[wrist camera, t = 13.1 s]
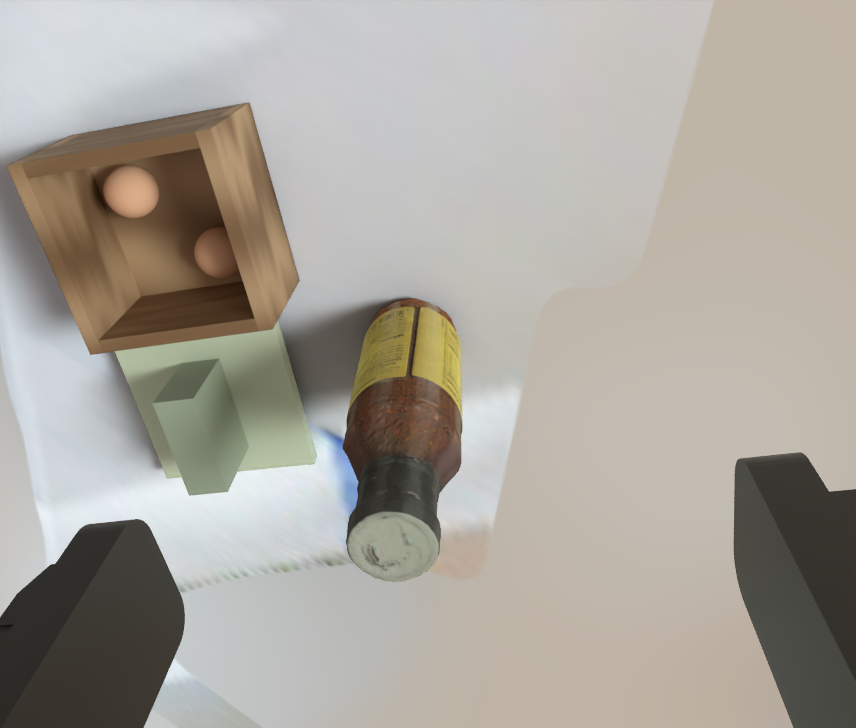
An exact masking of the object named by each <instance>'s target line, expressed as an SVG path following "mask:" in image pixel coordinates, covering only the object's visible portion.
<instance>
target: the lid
mask: <svg viewBox="0 0 856 728" xmlns="http://www.w3.org/2000/svg"><path fill="white" fill-rule="evenodd" d="M115 353H116V356H117V358H118V361H119V363H120V365H121V368H122V370H123V373H124V375H125V378H126V380H127V382H128V385H129V387H130V390H131V392H132V395H133V397H134V400H135V402H136V404H137V407H138V409H139V412H140V414H141V417H142V419H143V421H144V424H145V426H146V429H147V431H148V434H149V436H150V438H151V441H152V443H153V446H154V448H155V451H156V453H157V455H158V458H159V460H160V463H161V465H162V468H163V470H164V473H165V475H166V477H167V478H176V477H182V479H183V481H184V484H185V486H186V489H187V491H188V494H189V495H199V494H210V493H220V492H228V490H229V488H230V486H231V484H232V481H233V479H234V477H235V475H236V473H237V471H247V470H257V469H267V468H277V467H288V466H298V465H308V464H314V463H315V460H316V457H317V454H316V450H315V447H314V443H313V440H312V436H311V433H310V429H309V426H308V422H307V419H306V416H305V412H304V409H303V405H302V402H301V398H300V395H299V391H298V388H297V384H296V381H295V378H294V374H293V371H292V367H291V364H290V360H289V357H288V353H287V350H286V347H285V343H284V340H283V336H282V333H281V329H280V326H279V322H278V321H277V322H276V324H275V326H274V328H273V330H266V331H258V332H251V333H244V334H237V335H229V336H222V337H215V338H208V339H201V340H193V341H186V342H179V343H172V344H165V345H157V346H150V347H143V348H136V349H128V350H121V351H115Z"/></svg>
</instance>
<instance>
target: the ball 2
mask: <svg viewBox="0 0 856 728" xmlns="http://www.w3.org/2000/svg"><path fill="white" fill-rule="evenodd" d="M194 255H195V260H196V262H197V264H198V266H199V267H200V269H201V270H202V271H203V272H205V273H206V274H208V275H209V276H212V277H215V278H228V277H231V276H233V275H235V274H236V273H238V272H239V268H238V265H237V261H236V258H235V255H234V252H233V249H232V246H231V243H230V240H229V236H228V233H227V230H226V228H222V227H217V228H212V229H209V230H207V231H205V232H204V233H203V234H201V236H200V237H199V238H198V240H197V242H196V244H195V248H194Z"/></svg>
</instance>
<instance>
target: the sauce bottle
mask: <svg viewBox="0 0 856 728" xmlns="http://www.w3.org/2000/svg"><path fill="white" fill-rule="evenodd" d="M461 433H462V391H461V344H460V339H459V337H458V334H457V332H456V329H455V327H454V325H453V323H452V319H451V318H450V317H449V315H448V314H447V313H446V312H444V311H443V310H441V309H440V308H439V307H437V306H434V305H432V304H430V303H428V302H424V301H421V300H417V299H403V300H400V301H396V302H395V303H393V304H390V305H388V306H386V307H385V308H383V309H381V310H380V311H379V312H378V313H377V314H376V316H375V318H374V319H373V321H372V323H371V325H370V327H369V329H368V331H367V333H366V335H365V338H364V342H363V346H362V351H361V355H360V360H359V364H358V368H357V373H356V377H355V382H354V386H353V391H352V396H351V401H350V406H349V411H348V415H347V430H346V434H345V439H344V444H343V450H344V451H345V453H346V454H347V456H348V458H349V460H350V463H351V465H352V467H353V470H354V472H355V475H356V477H357V479H358V481H359V483H358V488H357V491H358V500H357V505H356V508H355V510H354V511H353V512H352V514H351V515H350V518H349V522H348V530H347V540H346V544H347V550H348V554H349V556H350V558H351V560H352V561H353V562H354V563H355V564H356V565H357V566H358V567H359V568H360V569H361V570H363V571H364V572H366V573H368V574H370V575H372V576H373V577H375V578H378V579H381V580H384V581H392V582H396V581H405V580H408V579H411V578H414V577H417V576H420V575H421V574H422V573H424V572H425V571H427V570H428V569H429V568H430V567H431V566H432V565H433V564H434V563H435V561H436V558H437V557H438V555H439V548H440V538H441V528H440V523H439V520H438V518H437V502H438V497H439V493H440V492H441V491H442V489H443V488H444V487H445V485H446V484H447V483H448V482H449V481H450V480H451V479H452V478H453V477H454V476H455V474H456V473H457V472H458V471H459V468H460V465H461Z"/></svg>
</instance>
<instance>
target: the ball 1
mask: <svg viewBox="0 0 856 728" xmlns="http://www.w3.org/2000/svg"><path fill="white" fill-rule="evenodd" d="M103 193H104V197H105V200H106V202H107V204H108V205H109V207H110V208H111V209H112V210H113V211H114V212H116V213H117V214H119V215H121V216H124V217H127V218H139V217H143V216H145V215H147V214H149V213H150V212H151V211H152V210H153V209H154V208H155V207H156V205H157V203H158V199H159V188H158V184H157V182H156V180H155V178H154V177H153V176H152V175H151V174H150V173H149V172H148V171H147V170H145V169H144V168H142V167H139V166H136V165H122V166H119V167H117V168H115V169H113V170H112V171H111V172H110V173H109V174H108V175H107V177H106V179H105V181H104V186H103Z"/></svg>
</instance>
